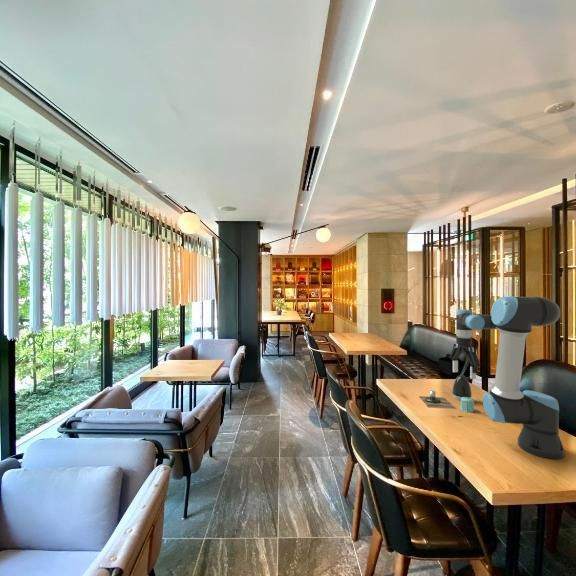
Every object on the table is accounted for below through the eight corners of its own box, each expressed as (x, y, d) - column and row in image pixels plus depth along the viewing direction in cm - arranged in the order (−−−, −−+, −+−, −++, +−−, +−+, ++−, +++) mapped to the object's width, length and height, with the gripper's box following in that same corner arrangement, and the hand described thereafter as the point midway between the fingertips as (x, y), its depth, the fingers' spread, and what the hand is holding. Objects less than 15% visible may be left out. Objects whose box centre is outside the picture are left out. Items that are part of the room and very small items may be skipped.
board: (456, 410, 169) (456, 408, 169) (428, 409, 171) (428, 407, 171) (443, 399, 187) (443, 397, 187) (418, 397, 188) (418, 396, 188)
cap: (475, 414, 164) (475, 401, 164) (463, 413, 165) (464, 400, 165) (470, 409, 170) (470, 397, 170) (459, 409, 171) (459, 396, 171)
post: (442, 403, 176) (442, 394, 176) (427, 402, 177) (428, 393, 177) (437, 398, 184) (437, 389, 184) (423, 398, 185) (423, 389, 185)
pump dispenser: (475, 403, 179) (475, 377, 179) (457, 403, 180) (457, 377, 180) (465, 397, 190) (466, 373, 190) (449, 397, 190) (449, 372, 190)
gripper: (487, 340, 159) (487, 381, 159) (454, 334, 184) (454, 369, 184) (475, 340, 158) (474, 382, 158) (443, 334, 183) (443, 369, 182)
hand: (463, 375), depth 171 cm, fingers open, 13 cm apart
